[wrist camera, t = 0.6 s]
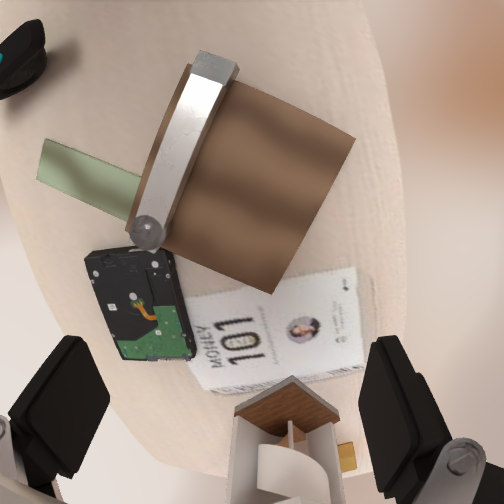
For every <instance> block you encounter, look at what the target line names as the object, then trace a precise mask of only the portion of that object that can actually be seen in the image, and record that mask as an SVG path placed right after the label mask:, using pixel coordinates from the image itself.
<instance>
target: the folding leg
mask: <svg viewBox="0 0 504 504" xmlns="http://www.w3.org/2000/svg"><path fill="white" fill-rule="evenodd" d="M239 70H240V69H239V67H238V65H237V63H235V62H233V61H230V60H227V59H225V58H222V57H219V56H216V55H213V54H210V53H207V52H204V51H201V50H200V51H199V53H198V55H197V57H196V59H195V61H194V63H193V65H192V68H191V70H190V72H189V73H190V74H191V75H190V78H189V80H188V82H187V84H186V86H185V88H184V91H183V93H182V95H181V97H180V100H179V102H178V104H177V107H176V109H175V111H174V114H173V116H172V118H171V121H170V123H169V126H168V128H167V131H166V133H165V136H164V138H163V141H162V143H161V146H160V148H159V151H158V154H157V156H156V159H155V162H154V165H153V167H152V170H151V173H150V176H149V179H148V181H147V184H146V187H145V190H144V193H143V196H142V199H141V202H140V205H139V209H138V212H137V215H136V218H134V219H133V221H132V222H131V224H130V227H129V235H130V238H129V243H132V244H134V245H136V246H137V247H138V248H140V249H142V250H147V251H149V252H151V253H154V254H155V253H156V251H157V250H158V249H159V248H160V246H161V245H162V244H163V243H164V241H165V238H166V237H167V236H168V235H169V234H170V232H171V231H172V228H173V216H174V214H175V211H176V208H177V206H178V203H179V201H180V198H181V195H182V193H183V190H184V188H185V185H186V183H187V180H188V178H189V175H190V173H191V170H192V168H193V165H194V163H195V161H196V158H197V156H198V153H199V151H200V149H201V146H202V144H203V142H204V139H205V137H206V135H207V132H208V130H209V128H210V126H211V123H212V121H213V119H214V117H215V115H216V112H217V110H218V108H219V106H220V104H221V102H222V99H223V97H224V95H225V93H226V91H227V89H228V90H230V88H231V86H232V84H233V82H234V80H235V78H236V76H237V74H238V72H239Z"/></svg>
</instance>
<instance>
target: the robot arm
mask: <svg viewBox="0 0 504 504" xmlns="http://www.w3.org/2000/svg"><path fill="white" fill-rule="evenodd" d="M109 402H110V394H109V392H108V390H107V388H106V386H105V384H104V382H103V380H102V377H101V375H100V373H99V371H98V369H97V366H96V364H95V362H94V359H93V357H92V355H91V352H90V350H89V348H88V345H87V343H86V342H85V341H84V340H83V339H82V338H81V337H79V336H70V335H66V336H64V337H63V339H62V340H61V341H60V342H59V344H58V345H57V346H56V348H55V349H54V350H53V351H52V353H51V354H50V355H49V356H48V358H47V359H46V360H45V362H44V363H43V364H42V366H41V367H40V368H39V370H38V371H37V373H36V374H35V375H34V377H33V378H32V379H31V381H30V382H29V383H28V385H27V386H26V387H25V389H24V390H23V392H22V393H21V394H20V396H19V397H18V399H17V400H16V402H15V403H14V405H13V406H12V407H11V409H10V410H9V412H8V415H9V416H10V418H11V420H10V421H8V420H7V418H6V417H4V416H2V415H0V504H67V503H65V502H64V501H63V498H62V496H61V492H60V489H59V486H58V483H57V480H56V475H57V473H58V474H59V475H61V476H64V477H66V478H69V479H72V477H73V475H74V473H77V472H78V470H79V468H80V466H81V464H82V462H83V459H84V457H85V455H86V452H87V450H88V448H89V446H90V444H91V441H92V439H93V437H94V434H95V433H96V430H97V428H98V426H99V424H100V422H101V420H102V418H103V415H104V413H105V411H106V409H107V407H108V405H109ZM358 406H359V411H360V415H361V419H362V423H363V428H364V432H365V436H366V440H367V444H368V448H369V453H370V457H371V462H372V466H373V471H374V475H375V479H376V485H377V489H378V491H379V492H380V493H381V492H384V497H385V499H389V498H393V497H395V499H396V503H397V504H504V468H501V467H498V466H496V465H493V464H490V463H488V462H486V455H485V451H484V450H483V448H482V446H481V445H480V444H478V443H477V442H476V441H474V440H472V439H469V438H456V439H454V440H453V439H452V437H451V434H450V432H449V430H448V428H447V425H446V423H445V421H444V419H443V416H442V414H441V412H440V410H439V408H438V406H437V404H436V401H435V399H434V397H433V395H432V393H431V391H430V389H429V387H428V385H427V383H426V381H425V379H424V377H423V375H422V374H421V373H415V371H414V369H413V366H412V364H411V362H410V360H409V358H408V356H407V354H406V352H405V350H404V348H403V346H402V345H401V343H400V341H399V339H398V337H397V336H396V335H392V336H383V337H378V338H377V341H376V342H372V344H371V348H370V353H369V357H368V362H367V366H366V371H365V375H364V379H363V383H362V387H361V391H360V395H359V400H358Z"/></svg>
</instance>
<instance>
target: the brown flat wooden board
mask: <svg viewBox="0 0 504 504" xmlns="http://www.w3.org/2000/svg"><path fill="white" fill-rule="evenodd" d="M191 68H192V65H191V64H187V66H186V68H185V70H184V72H183V75H182V77H181V79H180V81H179V83H178V86H177V88H176V90H175V92H174V95H173V97H172V99H171V101H170V104H169V106H168V109H167V111H166V113H165V116H164V118H163V121H162V123H161V126H160V128H159V131H158V133H157V136H156V138H155V141H154V144H153V146H152V149H151V152H150V154H149V157H148V160H147V163H146V165H145V168H144V171H143V174H142V177H140V176H138V175H135V174H133V173H131V172H128V171H126V170H123V169H121V168H119V167H116V166H114V165H111V164H109V163H106V162H104V161H102V160H99V159H97V158H94V157H92V156H89V155H87V154H84V153H82V152H79V151H77V150H74V149H72V148H69V147H67V146H64V145H62V144H59V143H57V142H54V141H52V140H49V139H45V140H44V144H43V148H42V153H41V157H40V162H39V167H38V172H37V177H36V180H38V181H40V182H42V183H45V184H47V185H49V186H51V187H53V188H55V189H57V190H59V191H62V192H64V193H66V194H68V195H70V196H72V197H74V198H77V199H79V200H81V201H83V202H85V203H87V204H89V205H92V206H94V207H96V208H98V209H100V210H103V211H105V212H107V213H109V214H111V215H113V216H116V217H118V218H120V219H122V220H124V221H127V225H126V228H125V231H126V232H128V233H129V227H130V224H131V222H132V221H133V219H134V218H136V215H137V212H138V209H139V205H140V202H141V199H142V196H143V193H144V190H145V187H146V184H147V181H148V179H149V176H150V173H151V170H152V167H153V165H154V162H155V159H156V156H157V154H158V151H159V148H160V146H161V143H162V141H163V138H164V136H165V133H166V131H167V128H168V126H169V123H170V121H171V118H172V116H173V114H174V111H175V109H176V107H177V104H178V102H179V100H180V97H181V95H182V93H183V91H184V88H185V86H186V84H187V82H188V80H189V78H190V75H191V74H190V73H189V72H190V70H191ZM355 140H356V139H355V138H354V137H352V136H350V135H348V134H347V133H345V132H343V131H341V130H339V129H338V128H336V127H334V126H332V125H330V124H328V123H326V122H324V121H323V120H321V119H319V118H317V117H315V116H313V115H311V114H309V113H307V112H305V111H303V110H301V109H299V108H297V107H295V106H292V105H290V104H288V103H286V102H284V101H282V100H280V99H277V98H275V97H273V96H271V95H269V94H266V93H264V92H262V91H259V90H257V89H255V88H252V87H250V86H248V85H245V84H243V83H240V82H238V81H235V80H234V82H233V84H232V86H231V88H230V90H228V89H227V91H226V93H225V95H224V97H223V99H222V102H221V104H220V106H219V108H218V110H217V112H216V115H215V117H214V119H213V121H212V123H211V126H210V128H209V130H208V132H207V135H206V137H205V139H204V142H203V144H202V146H201V149H200V151H199V153H198V156H197V158H196V161H195V163H194V165H193V168H192V170H191V173H190V175H189V178H188V180H187V183H186V185H185V188H184V190H183V193H182V195H181V198H180V201H179V203H178V206H177V208H176V211H175V214H174V216H173V228H172V231H171V232H170V234H169V235H168V236H167V237H166V238H165V241H164V243H163V244H162V245H161V246H160V247H161V248H164V249H166V250H168V251H171V252H173V253H175V254H177V255H180V256H182V257H184V258H186V259H189V260H191V261H193V262H196V263H198V264H200V265H202V266H205V267H207V268H209V269H212V270H214V271H216V272H219V273H221V274H223V275H226V276H228V277H231V278H233V279H235V280H238V281H240V282H242V283H245V284H247V285H249V286H252V287H254V288H257V289H259V290H261V291H264V292H266V293H269V294H271V295H272V293H273V292H274V290H275V288H276V286H277V285H278V283H279V281H280V279H281V278H282V276H283V274H284V272H285V271H286V269H287V267H288V265H289V263H290V262H291V260H292V258H293V256H294V254H295V253H296V251H297V249H298V247H299V245H300V244H301V242H302V240H303V238H304V236H305V235H306V233H307V231H308V229H309V227H310V225H311V224H312V222H313V220H314V218H315V216H316V214H317V212H318V211H319V209H320V207H321V205H322V203H323V201H324V199H325V198H326V196H327V194H328V192H329V190H330V188H331V186H332V184H333V182H334V180H335V179H336V177H337V175H338V173H339V171H340V169H341V167H342V165H343V163H344V161H345V159H346V157H347V155H348V154H349V152H350V150H351V148H352V146H353V144H354V142H355Z"/></svg>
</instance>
